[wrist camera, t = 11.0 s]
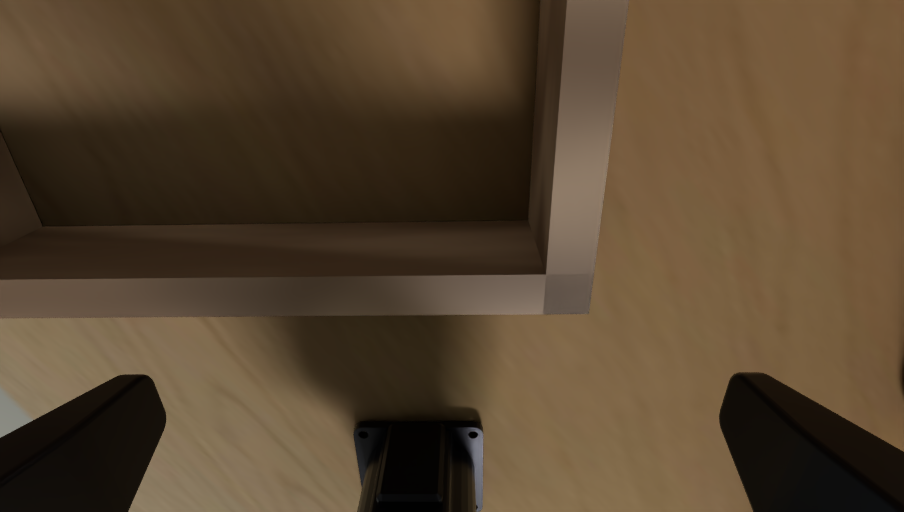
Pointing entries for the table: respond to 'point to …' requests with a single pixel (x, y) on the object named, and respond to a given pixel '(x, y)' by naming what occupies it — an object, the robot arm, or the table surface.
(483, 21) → the table surface
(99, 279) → the walnut pen
